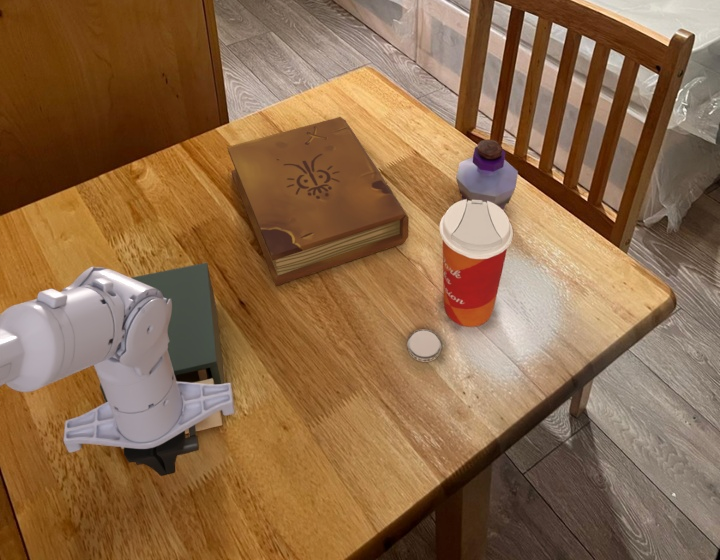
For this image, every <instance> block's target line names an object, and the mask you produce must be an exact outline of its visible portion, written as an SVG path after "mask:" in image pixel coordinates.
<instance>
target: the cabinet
mask: <svg viewBox="0 0 720 560" xmlns="http://www.w3.org/2000/svg"><path fill="white" fill-rule="evenodd" d="M209 269H210V268H209V265H208V262H202V263H198V264H193V265H192V264H191V265H187V266H183V267H177V268H172V269H167V270H162V271H157V272H152V273H147V274H142V275H136V276H132V277H131V278H132V279H135V280H137V281H139V282H142V283H144V284H146V285H149V286H151V287H153V288H155V289H158V290H159V291H161V293H162V294H163V297H164V298H166V299H167V302H168V300H169V299H171V301H172V313H171V318H170V322H169V325H168V337H169V343H168V349H167V350H168V353H169V357H170V360H171V364H172V367H173V371H174V374H175V375H179V374H184V373H188V372H192V371H197V370H201V369H206V368H210V370H211V379H212V378H213V381H214V385H218V384H225V383H226V382H225V374H224V366H223V365H224V364H223V355H222V346H221V345H222V344H221V335H220V327H219V316H218V308H217V303H216V298H215V294H214V288H213V284H212V279H211V274H210V270H209ZM99 389H100V391H101V394H102V397H103V399H104V401H105V402H104V403H106V402H108V401H107V399H106V396H105V393H104V391H103V388H102V385H101V383H100V382H99Z"/></svg>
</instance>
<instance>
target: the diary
mask: <svg viewBox="0 0 720 560" xmlns="http://www.w3.org/2000/svg"><path fill="white" fill-rule="evenodd" d="M227 152H228V155H229V157H230V160H231V162H232V165H233V167H234V169H232V170H230V171H231V176H232V179H233V181H234V184H235V186H236V189H237V191H238V193H239V196H240V199H241V202H242V204H243V206H244V209H245V212H246V214H247V216H248V219H249V221H250V225H251V226H252V230H253V232H254V235H255V237H256V239H257V242H258V244H259V247H260V249H261V252H262V255H263V257H264V260H265V262H266V265H267V267H268V269H269V272H270V275H271V277H272V280H273V282H274V285H275V286H279V285H282V284H285V283H288V282H291V281H294V280H297V279H299V278H300V279H301V278H303V277H306V276H309V275H313V274H315V273H319V272H321V271H324V270H327V269H330V268H333V267H336V266H339V265H342V264H345V263H348V262H352V261H354V260H357V259H360V258H363V257H367V256H370V255H372V254H376V253H379V252H381V251H385V250H388V249H390V248H394V247H397V246H400V245H402V244H403V245H404V243H405V242H406V241H407V240H408V238H409V219H410V218H409V216H408V214H407V212H406V210H405V209H404V207H403V206H402V205H401V203H400V202H399V200H398V198H397V197H396V195H395V193H394V192H393V191H392V189H391V188H390V186H389V185H388V183H387V181H386V179H384V177H383V176H382V174H381V172H380V171H379V170H378V168H377V166H376V165H375V163H374V162H373V160H372V158H371V157H370V155H369V154H368V152H367V151H366V149H365V148H364V146H363V145H362V144H361V141H360V140H359V138H358V136H357V135H356V134H355V133H354V131H353V129H352V128H351V126H350V125H349V123H348V122H347V121H346V119H344V118H343V117H342V116H337V117H335V118H331V119H327V120H323V121H319V122H316V123H312V124H308V125H304V126H301V127H297V128H296V127H295V128H293V129H289V130H285V131H281V132H278V133H274V134H271V135H267V136H263V137H259V138H255V139H251V140H248V141H244V142H240V143H236V144H234V145H229V146H227Z"/></svg>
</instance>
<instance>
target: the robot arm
mask: <svg viewBox="0 0 720 560" xmlns="http://www.w3.org/2000/svg"><path fill="white" fill-rule="evenodd" d="M171 313H172V301H171V299H169V300H168V302H167V299H166V298H164V297H163V294H162V293H161V291H159V290H158V289H155V288H153V287H151V286H149V285H146V284H144V283H142V282H139V281H137V280H135V279H132V277H130V276H128V275H125V274H123V273H120V272H118V271H116V270H114V269H111V268H106V267H103V266H97V267H96V266H90V267H88V268H87V269H85V270H84V271H83V272H82V273H80V274H79V275H78V276H77V278H76V279H75V280H73V282H72V283H71V284H70V285H69V286H67V287H63V288H62V290H61V291H59V290H57V289H54V288H49V289H45V290H42V291H41V290H40V291H39V292H38V294H37V297H36V298H35V299H31V300H27V301H25V302H21V303H17V304H13V305H11V306H9V307H8V308H6V309H5V310H4V311H3V312H2V313H0V387H2V386H3V385H6V386H7V387H8V388H10V389H12V390H14V391H16V392H21V393H31V392H35V391H37V390H39V389H42V388H44V387H47V386H49V385H51V384H53V383H56V382H58V381H60V380H61V381H62V380H63V379H65V378H67V377H70V376H72V375H75V374H76V373H79V372H81V371H84V370H85V369H88V368H91V367H93V368H94V370H95V372H96V375H97V378H98V381H99V384H100V383H101V385H102V388H103V391H104V393H105V396H106V399H107V401H108V402H104V403H102V404H100V405H99V406H96V407H95V408H92V409H91V410H89V411H87V412H86V413H83V414H81V415H79V416H76V417H72V418H69V419H66V420H65V421H64V428H63V429H64V431H63V439H62V440H63V441H62V442H63V443H64V445H65V448H66V450H67V452H68V453H69V454H70V453H71V454H72V453H74V452H79V451H81V450H82V448H83V445H94V446H95V445H96V446H97V445H98V446H107V447H117V448H121V447H124V449H123V455H124V457H125V459H126V461H127V462H128V463H129V464H131V463H135V464H136V463H141V465H144V466H147V467H149V468H150V469H151V470H153V471H154V472H156V473H157V474H158V475H159V476H161V477H165V476H168V475H172V474H175V473H176V460H177V458H178V456H179V455H178V454H179V452H180V451H181V450H183V448H184V444H185V438H186V434H185V430H187V429H188V428H190V427H192V426H193V425H195V424H197V423H199V422H200V421H202V420H204V419H205V418H207V417H209V416H210V415H212V414H214V413H216V412H218V411H220V410H221V414H222V416H231V415H234V414H235V413H236V410H235V409H236V408H235V401H234V400H235V399H234V393H233V388H232V384H231V382H225V384H218V385H212V384H199V383H188V382H177V381H176V378H175V374H174V371H173V367H172V364H171V360H170V357H169V353H168V350H167V349H168V343H169V337H168V325H169V322H170V318H171ZM177 455H178V456H177Z"/></svg>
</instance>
